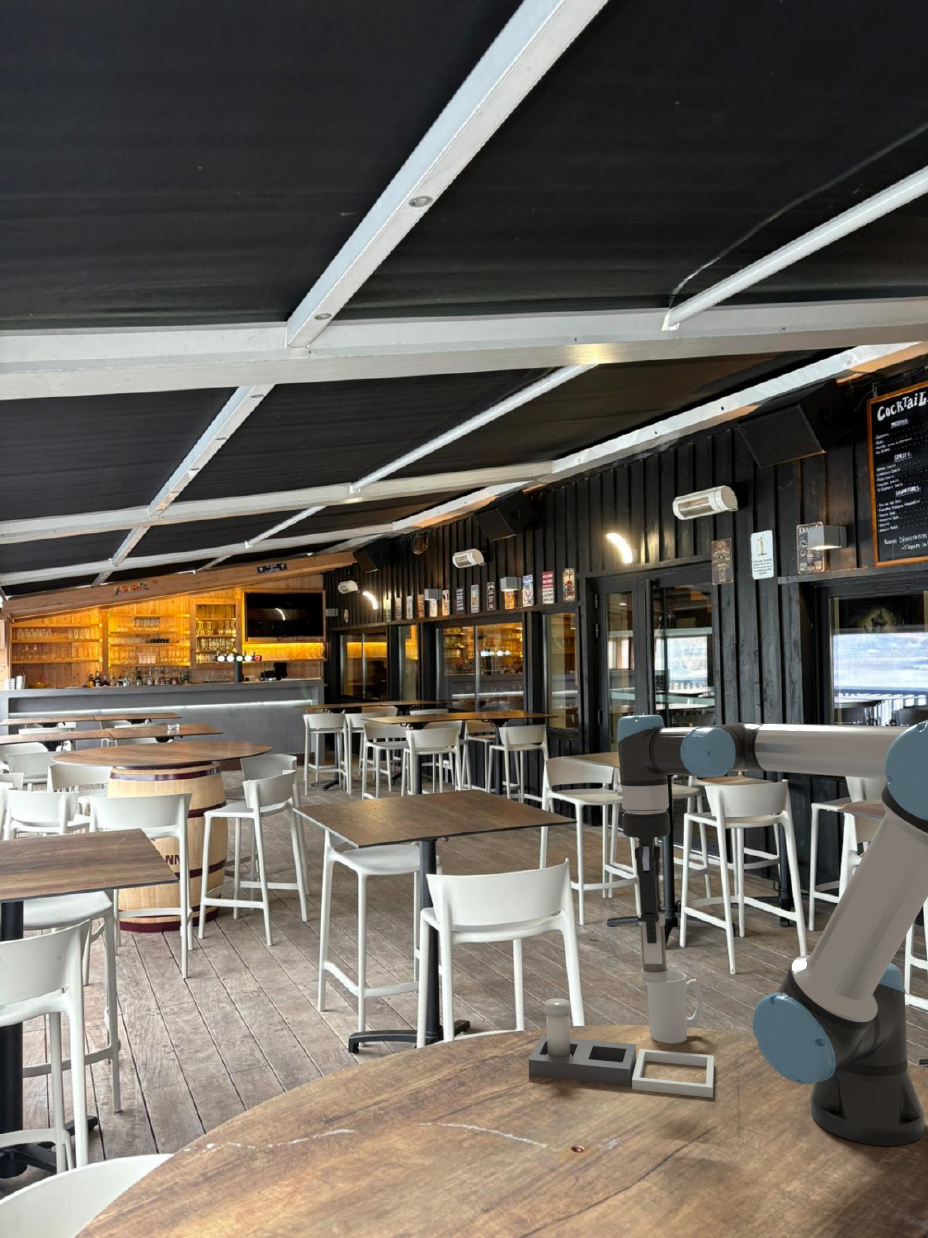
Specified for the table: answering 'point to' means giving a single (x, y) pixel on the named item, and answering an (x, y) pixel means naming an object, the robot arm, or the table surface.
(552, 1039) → the peg
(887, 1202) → the table surface
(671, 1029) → the mug
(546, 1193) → the table surface
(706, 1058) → the tray
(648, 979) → the fuse
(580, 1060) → the block
